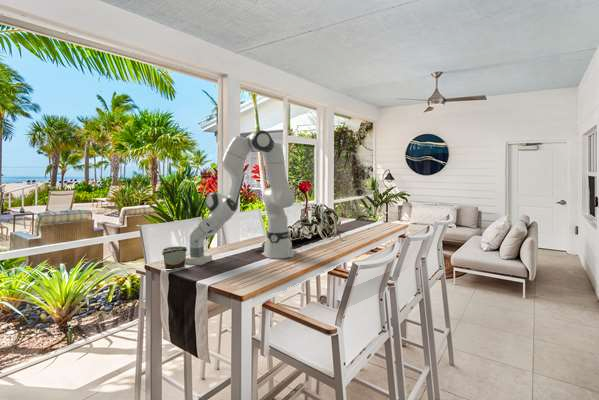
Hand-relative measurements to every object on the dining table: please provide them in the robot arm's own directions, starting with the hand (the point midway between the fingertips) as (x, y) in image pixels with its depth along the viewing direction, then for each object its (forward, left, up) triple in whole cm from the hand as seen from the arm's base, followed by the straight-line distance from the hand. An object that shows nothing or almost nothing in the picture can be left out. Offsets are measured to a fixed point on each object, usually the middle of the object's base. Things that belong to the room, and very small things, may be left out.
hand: (196, 241), depth 184 cm
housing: (0, +1, -8) cm, 8 cm away
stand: (0, +1, -11) cm, 11 cm away
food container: (+14, -4, -11) cm, 18 cm away
